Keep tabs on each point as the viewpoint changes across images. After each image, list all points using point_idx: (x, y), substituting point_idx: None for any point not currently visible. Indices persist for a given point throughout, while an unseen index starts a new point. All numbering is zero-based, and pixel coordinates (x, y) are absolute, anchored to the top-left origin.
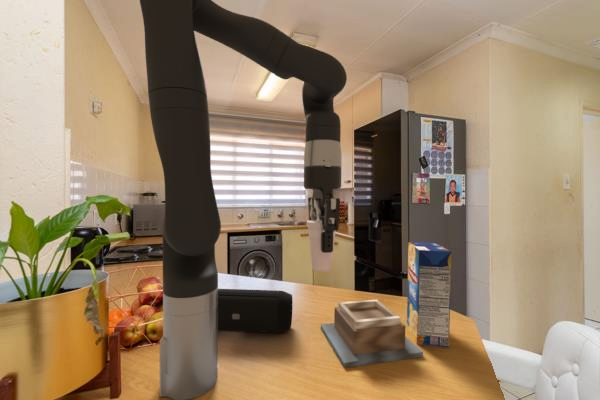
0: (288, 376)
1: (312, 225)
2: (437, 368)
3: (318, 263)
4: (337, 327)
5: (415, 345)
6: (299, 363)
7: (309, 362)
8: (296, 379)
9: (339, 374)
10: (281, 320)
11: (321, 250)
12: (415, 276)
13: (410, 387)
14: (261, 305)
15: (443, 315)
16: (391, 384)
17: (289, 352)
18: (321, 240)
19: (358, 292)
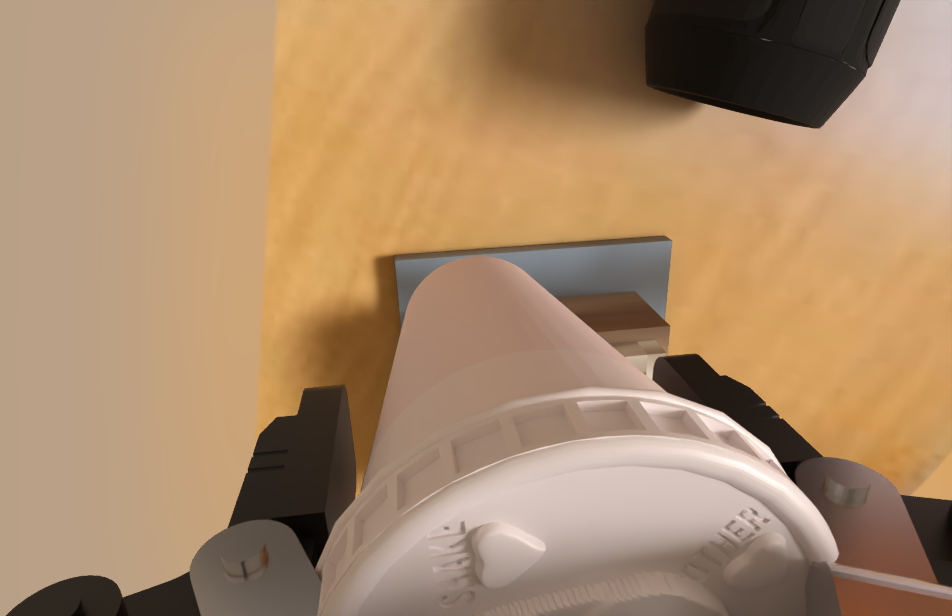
0: (371, 38)
1: (415, 477)
2: None
3: (409, 312)
4: (604, 300)
5: None
6: (442, 96)
7: (442, 137)
8: (351, 67)
9: (362, 229)
10: (651, 39)
11: (324, 387)
12: None
13: (285, 413)
14: None
15: None
16: (301, 369)
17: (520, 65)
18: (308, 449)
19: (913, 476)
